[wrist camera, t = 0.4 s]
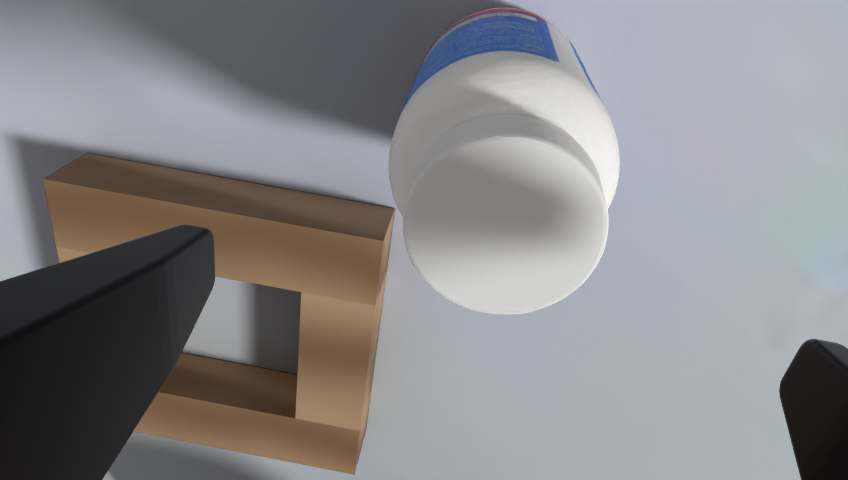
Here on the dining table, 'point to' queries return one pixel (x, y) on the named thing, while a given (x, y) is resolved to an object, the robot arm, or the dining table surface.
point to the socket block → (260, 264)
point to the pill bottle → (504, 165)
